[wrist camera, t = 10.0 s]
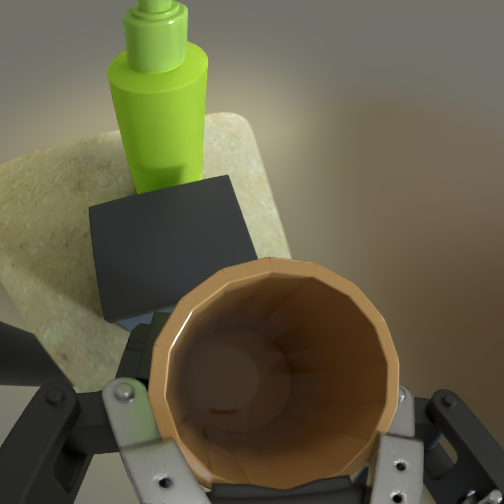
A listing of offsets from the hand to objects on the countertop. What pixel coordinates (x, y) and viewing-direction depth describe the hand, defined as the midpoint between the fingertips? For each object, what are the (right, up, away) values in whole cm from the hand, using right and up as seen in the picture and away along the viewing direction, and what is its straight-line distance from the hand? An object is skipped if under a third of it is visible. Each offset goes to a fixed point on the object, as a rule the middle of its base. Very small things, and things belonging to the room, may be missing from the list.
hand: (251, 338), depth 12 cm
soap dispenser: (-7, +9, +15) cm, 19 cm away
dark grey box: (-6, +1, +12) cm, 14 cm away
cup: (-1, -3, +3) cm, 5 cm away
